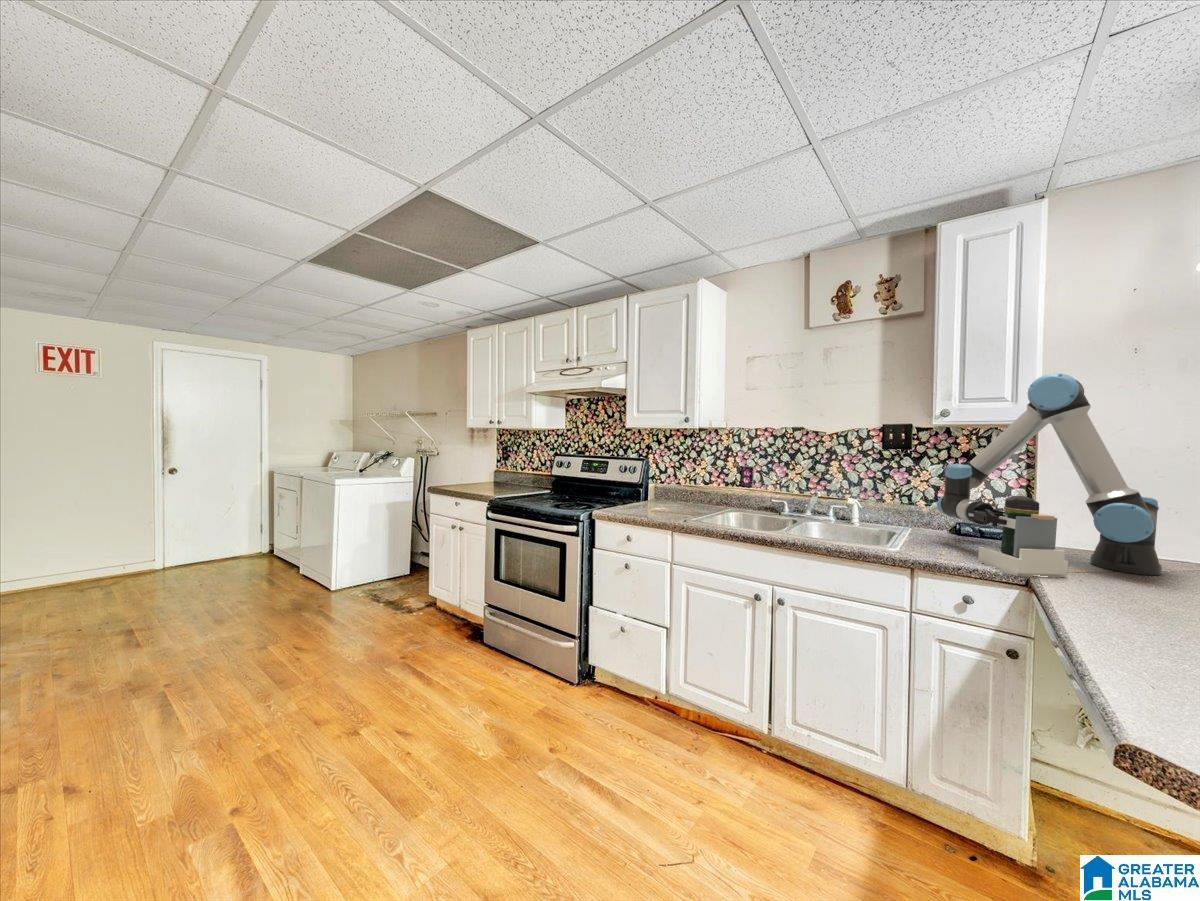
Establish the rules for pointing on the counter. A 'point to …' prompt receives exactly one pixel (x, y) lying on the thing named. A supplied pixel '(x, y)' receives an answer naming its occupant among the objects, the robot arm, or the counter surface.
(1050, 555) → the tray
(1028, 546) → the pusher
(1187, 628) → the counter surface
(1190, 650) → the counter surface
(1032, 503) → the coffee jar
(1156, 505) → the robot arm
